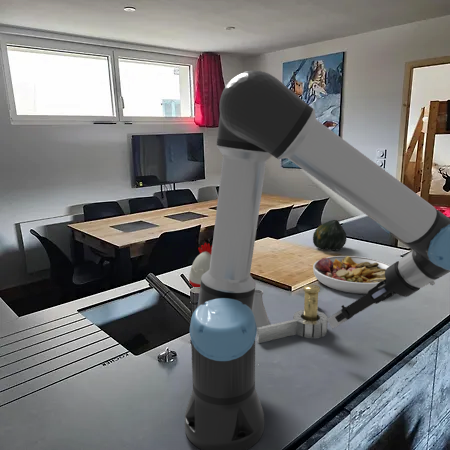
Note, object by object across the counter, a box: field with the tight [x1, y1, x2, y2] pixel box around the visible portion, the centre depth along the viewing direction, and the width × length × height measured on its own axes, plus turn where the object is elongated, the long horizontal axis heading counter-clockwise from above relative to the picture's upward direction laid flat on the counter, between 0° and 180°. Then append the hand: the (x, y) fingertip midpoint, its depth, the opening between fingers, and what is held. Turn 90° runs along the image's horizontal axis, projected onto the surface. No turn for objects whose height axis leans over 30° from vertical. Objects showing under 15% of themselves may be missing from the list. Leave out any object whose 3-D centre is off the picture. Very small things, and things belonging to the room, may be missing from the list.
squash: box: [312, 219, 347, 251], centre depth 186 cm, size 14×15×15 cm
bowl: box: [312, 255, 392, 295], centre depth 147 cm, size 30×30×8 cm
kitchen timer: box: [188, 242, 212, 288], centre depth 147 cm, size 14×14×15 cm
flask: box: [252, 288, 271, 328], centre depth 115 cm, size 7×7×10 cm
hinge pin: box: [303, 284, 321, 321], centre depth 110 cm, size 4×4×13 cm
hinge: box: [256, 309, 329, 344], centre depth 115 cm, size 27×18×4 cm, turn 163°
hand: (344, 314), depth 102 cm, fingers open, 13 cm apart
